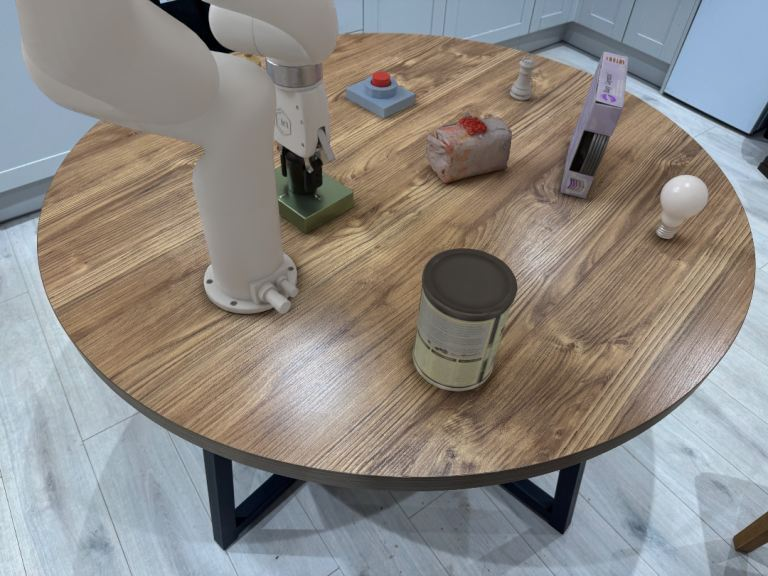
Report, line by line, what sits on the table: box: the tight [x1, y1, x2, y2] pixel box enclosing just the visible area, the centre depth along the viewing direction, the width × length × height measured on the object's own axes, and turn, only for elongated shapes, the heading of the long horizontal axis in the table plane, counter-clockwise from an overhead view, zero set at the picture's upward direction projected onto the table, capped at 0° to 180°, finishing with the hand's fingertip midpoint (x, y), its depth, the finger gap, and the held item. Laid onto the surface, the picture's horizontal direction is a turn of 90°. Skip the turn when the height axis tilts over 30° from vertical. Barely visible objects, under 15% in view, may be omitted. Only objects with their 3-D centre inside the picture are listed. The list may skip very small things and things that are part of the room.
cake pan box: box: [560, 51, 630, 200], centre depth 96 cm, size 19×5×18 cm, turn 161°
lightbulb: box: [655, 174, 709, 240], centre depth 86 cm, size 6×6×11 cm
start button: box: [371, 71, 391, 88], centre depth 113 cm, size 4×4×2 cm
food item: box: [425, 111, 513, 184], centre depth 97 cm, size 14×8×10 cm, turn 114°
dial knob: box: [285, 150, 316, 194], centre depth 88 cm, size 5×5×6 cm
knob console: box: [274, 166, 355, 235], centre depth 91 cm, size 13×10×3 cm
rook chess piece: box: [509, 56, 536, 102], centre depth 118 cm, size 4×4×8 cm
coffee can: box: [412, 247, 518, 392], centre depth 66 cm, size 10×10×14 cm
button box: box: [345, 75, 417, 119], centre depth 115 cm, size 11×9×4 cm
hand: (302, 179), depth 89 cm, fingers closed on dial knob, 4 cm apart
